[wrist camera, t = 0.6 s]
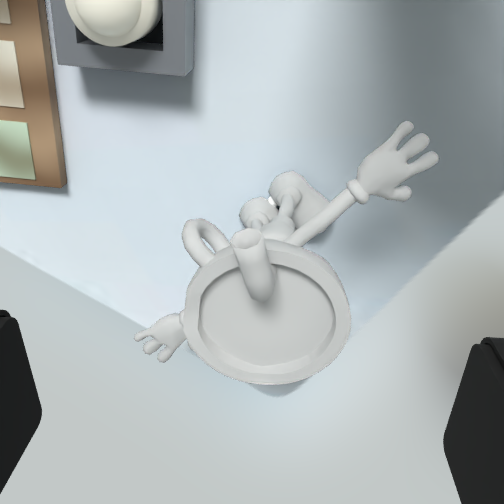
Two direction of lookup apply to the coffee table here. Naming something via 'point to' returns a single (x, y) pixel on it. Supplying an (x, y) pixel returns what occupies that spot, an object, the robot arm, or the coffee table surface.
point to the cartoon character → (278, 275)
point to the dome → (115, 19)
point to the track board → (28, 98)
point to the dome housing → (130, 44)
